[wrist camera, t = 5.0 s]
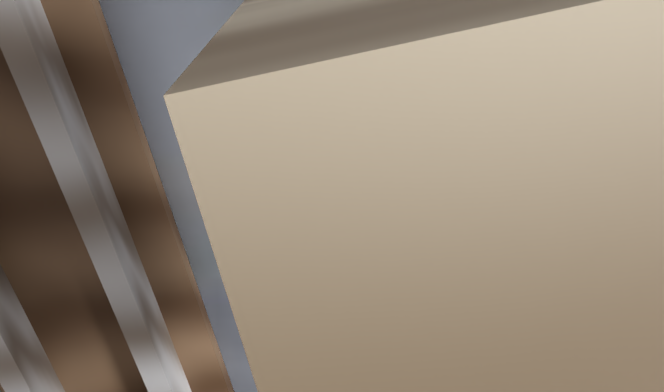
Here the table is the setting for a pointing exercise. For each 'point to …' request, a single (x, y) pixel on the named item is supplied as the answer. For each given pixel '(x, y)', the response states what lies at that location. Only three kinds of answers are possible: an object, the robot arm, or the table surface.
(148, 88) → the table surface
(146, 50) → the table surface
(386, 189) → the door panel
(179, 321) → the wooden rack
